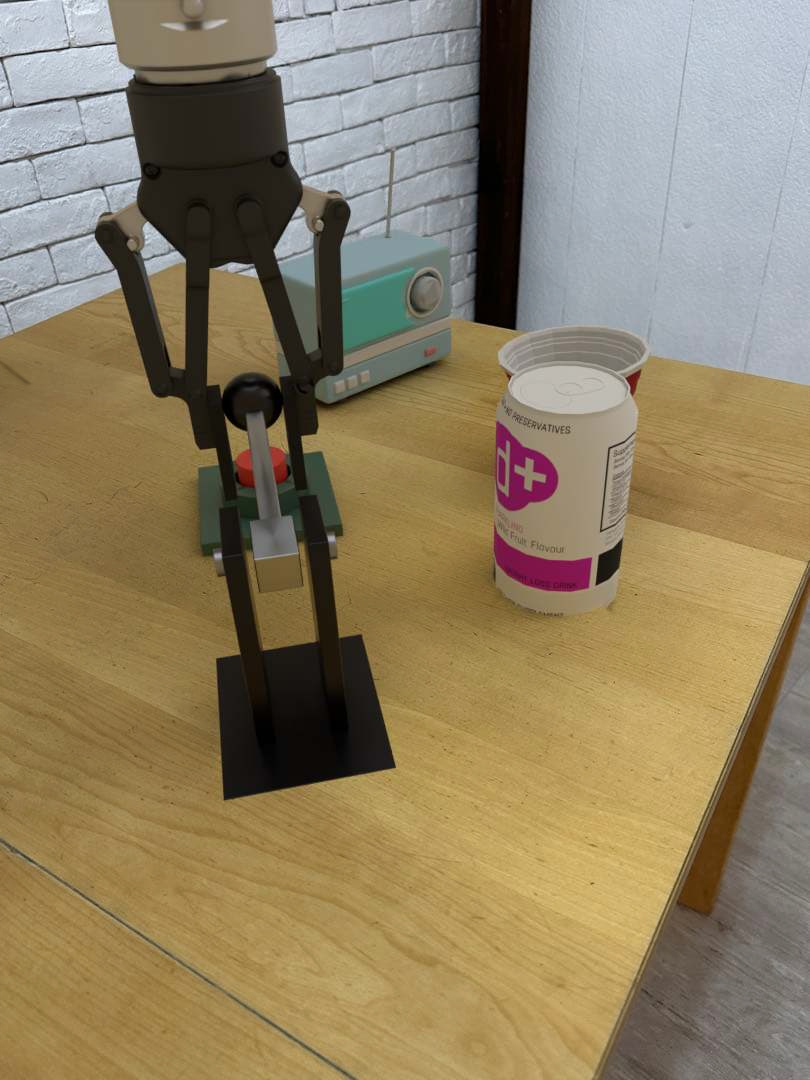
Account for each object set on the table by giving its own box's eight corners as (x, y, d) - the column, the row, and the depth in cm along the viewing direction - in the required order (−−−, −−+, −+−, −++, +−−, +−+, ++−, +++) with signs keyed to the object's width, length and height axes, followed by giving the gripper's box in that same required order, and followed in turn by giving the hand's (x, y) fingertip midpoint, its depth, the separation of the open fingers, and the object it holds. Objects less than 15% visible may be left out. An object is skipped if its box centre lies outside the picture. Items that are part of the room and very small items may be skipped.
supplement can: (532, 645, 56) (544, 432, 48) (472, 573, 63) (473, 373, 54) (641, 608, 59) (671, 399, 50) (573, 542, 65) (589, 347, 57)
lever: (224, 412, 56) (215, 363, 54) (282, 405, 57) (276, 356, 54) (246, 604, 45) (237, 553, 42) (318, 593, 45) (313, 542, 43)
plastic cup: (536, 443, 77) (542, 308, 71) (656, 477, 72) (675, 334, 65) (468, 501, 70) (468, 357, 64) (596, 543, 65) (611, 391, 58)
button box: (202, 490, 73) (193, 447, 71) (324, 473, 75) (320, 430, 72) (205, 569, 64) (196, 523, 62) (344, 548, 66) (340, 502, 64)
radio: (335, 417, 83) (314, 190, 71) (279, 387, 89) (251, 173, 77) (460, 365, 91) (459, 154, 80) (401, 341, 97) (392, 141, 85)
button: (238, 469, 69) (234, 449, 68) (285, 462, 69) (282, 442, 68) (240, 493, 66) (237, 473, 65) (290, 486, 66) (287, 466, 65)
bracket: (218, 672, 56) (177, 480, 48) (363, 648, 57) (346, 456, 49) (226, 815, 47) (177, 608, 39) (397, 782, 48) (383, 576, 40)
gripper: (10, 95, 39) (127, 536, 53) (385, 66, 42) (406, 495, 55) (32, 72, 46) (132, 473, 59) (359, 48, 48) (384, 439, 61)
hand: (265, 483), depth 57 cm, fingers closed on lever, 4 cm apart
